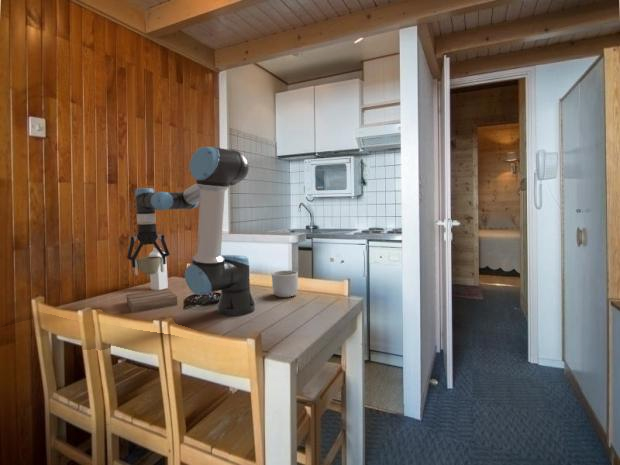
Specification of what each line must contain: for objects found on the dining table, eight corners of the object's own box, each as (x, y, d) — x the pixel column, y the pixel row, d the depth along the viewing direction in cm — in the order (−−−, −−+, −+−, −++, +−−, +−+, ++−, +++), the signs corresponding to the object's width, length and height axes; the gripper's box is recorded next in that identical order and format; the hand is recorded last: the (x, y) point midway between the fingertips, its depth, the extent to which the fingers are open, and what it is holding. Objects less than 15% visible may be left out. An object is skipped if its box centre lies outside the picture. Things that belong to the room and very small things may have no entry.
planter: (282, 300, 159) (282, 276, 158) (267, 295, 169) (266, 273, 168) (303, 295, 167) (303, 272, 166) (287, 290, 177) (287, 269, 176)
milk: (159, 287, 192) (157, 246, 190) (168, 287, 189) (165, 247, 188) (150, 289, 186) (148, 248, 185) (159, 290, 184) (156, 248, 182)
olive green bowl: (166, 271, 161) (165, 256, 161) (154, 275, 151) (153, 259, 151) (145, 271, 162) (144, 256, 162) (132, 276, 152) (131, 259, 152)
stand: (177, 305, 156) (176, 296, 155) (132, 312, 146) (131, 303, 145) (168, 296, 171) (167, 288, 170) (126, 303, 161) (126, 294, 160)
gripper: (171, 221, 164) (174, 268, 166) (116, 224, 152) (120, 275, 154) (175, 222, 158) (177, 271, 160) (118, 225, 146) (122, 278, 148)
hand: (149, 273), depth 157 cm, fingers closed on olive green bowl, 10 cm apart
